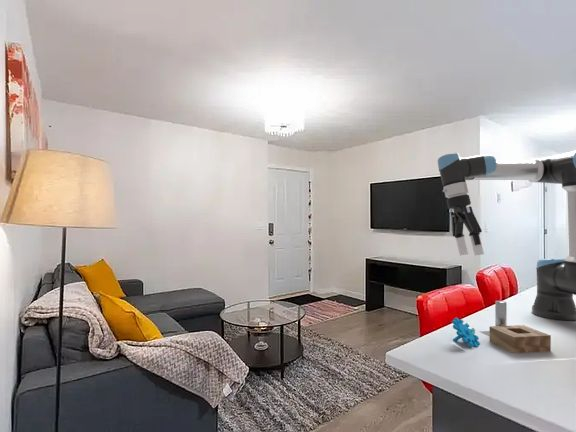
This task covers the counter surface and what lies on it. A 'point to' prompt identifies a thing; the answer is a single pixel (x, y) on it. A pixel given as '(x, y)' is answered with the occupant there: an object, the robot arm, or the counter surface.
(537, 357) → the counter surface
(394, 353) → the counter surface
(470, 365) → the counter surface
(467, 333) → the gear
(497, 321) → the peg
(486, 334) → the mat
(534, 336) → the hole block
